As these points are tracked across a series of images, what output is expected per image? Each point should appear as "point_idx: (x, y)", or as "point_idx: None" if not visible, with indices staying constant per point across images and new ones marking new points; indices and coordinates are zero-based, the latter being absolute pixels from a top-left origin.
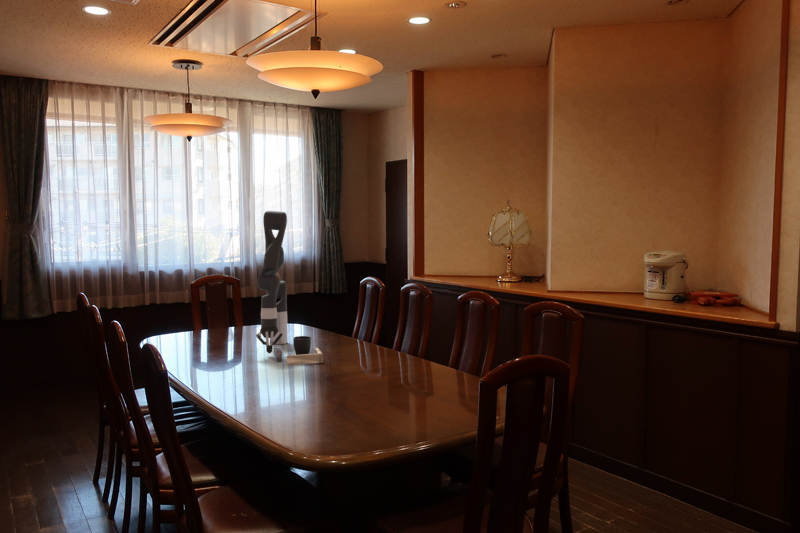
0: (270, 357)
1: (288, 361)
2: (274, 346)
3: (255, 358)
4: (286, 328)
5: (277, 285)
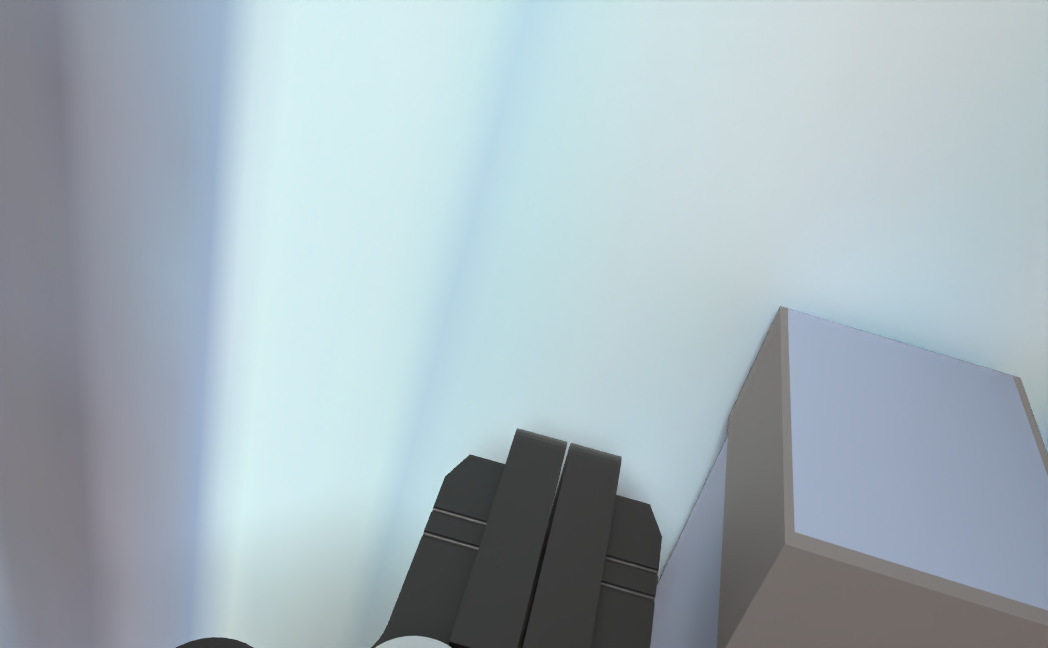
0: None
1: None
2: None
3: (171, 399)
4: None
5: None
